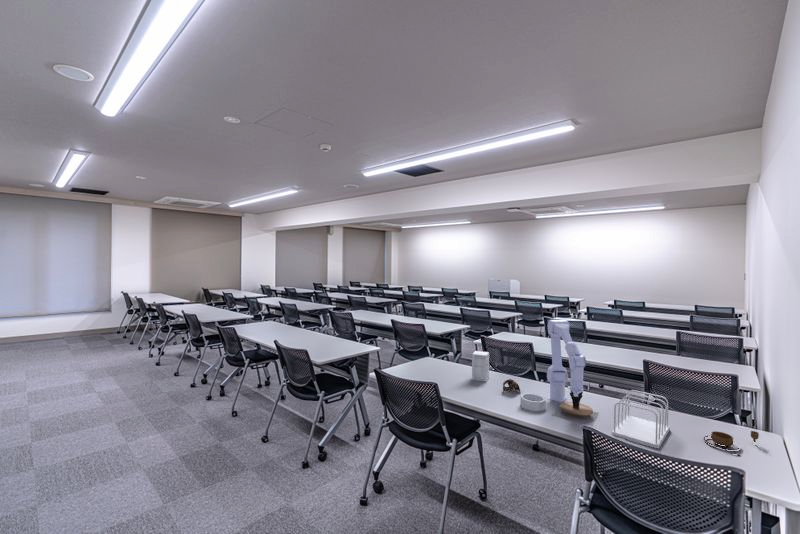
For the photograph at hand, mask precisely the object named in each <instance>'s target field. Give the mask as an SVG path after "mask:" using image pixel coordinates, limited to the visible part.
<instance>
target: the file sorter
mask: <svg viewBox="0 0 800 534" xmlns="http://www.w3.org/2000/svg"><path fill="white" fill-rule="evenodd" d="M635 392H636V393H635ZM644 394H645V395H644ZM632 395H636V396H638V397H635V396H632ZM648 395H649V396H648ZM652 396H653V397H652ZM640 397H644V398H647V399H644V398H640ZM660 398H662V399H660ZM631 399H635V400H639V401H643V402H646V403H649V404H646V403H643V402H638V401H634V400H631ZM648 399H651V400H656V401H659V402H662V403H663V405H664V407H663V405H662V404H660V403H658V402H654V401H650V400H648ZM663 399H664V400H665V401H666V402H665V401H664V400H663ZM630 403H634V404H637V405H634V404H630ZM650 404H653V405H657V406H660V408H661V410H662V412H661V410H660V409H659V408H658V407H656V406H653V405H650ZM617 405H618V406H617ZM638 405H641V406H638ZM642 406H645V407H642ZM617 407H618V409H617ZM624 407H625V408H624ZM630 407H632V408H635V409H636V408H637V409H641V410H645V411H647V412H652V413H653V414H654V415H655V421H651V420H649V419H644V418H640V417H636V416H633V415H630ZM647 407H648V408H647ZM649 408H651V409H649ZM664 408H665V409H664ZM653 409H656V410H657V411H658V413H659V416H658V414H657V413H656V412H655V411H654V410H653ZM617 410H618V411H617ZM616 412H617V413H618V414H616ZM620 413H621V414H620ZM620 415H621V416H620ZM616 417H617V419H616ZM620 417H621V420H620ZM658 418H659V419H658ZM616 420H617V422H616ZM616 423H617V425H616ZM670 430H671V426H670V425H669V401H668V398H666V397H665V396H663V395H658V394H656V393H655V394H653V393H651V392H650V393H649V392H645V391H642V390H640V391H639V390H635V389H631V390H629V392H628V393H626V395H625V396H623V397H622V399H619V401H618V402H616V403H614V407H613V430H612V431H611V435H613V436H616V437H619V438H623V439H624V440H626V439H627V440H626V441H631V442H634V443H636V444H640V445H643V446H645V447H649V446H650V448H653V447H654V448H653V449H656V448H659V449H660V448H661V445H662V444H663V442H664V440H665V438H666V437H667V436H668V434H669V432H670Z"/></svg>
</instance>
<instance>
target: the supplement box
mask: <svg viewBox="0 0 800 534" xmlns="http://www.w3.org/2000/svg"><path fill="white" fill-rule="evenodd" d="M471 355H472V356H471V380H472V381H477V382H479V381H480V382H487V381H488V380H489V378H490V352H489V351H479V350H475V351H474V352H473V353H472V354H471Z"/></svg>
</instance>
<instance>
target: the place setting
mask: <svg viewBox="0 0 800 534" xmlns="http://www.w3.org/2000/svg"><path fill="white" fill-rule="evenodd" d="M708 436H709V435H705V436H704V437H703V441H704V440H705V437H708ZM710 436H711V438H712V439H711V441H712V442H713V443H715V444H713V443H711V442H709V441H708V440H705V441H706V442H707V443H709V444H711V445H714V446H717V447H719V446H718V445H717V444H720V445H725V446H728V447H731V446H733V445H732V444H733V441H734V437H733V435H730V434H728V433H725V432H722V431H716V430H715V431H712V432H711V435H710ZM759 436H760V433H759V432H758V431H756V430H750V437H751V438H752V440H753V441H754V442H756V443H757V440H758V439H759ZM705 441H704V442H705ZM753 441H752V442H753ZM706 442H705V443H706ZM707 443H706V444H707ZM716 443H717V444H716Z"/></svg>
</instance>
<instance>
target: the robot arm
mask: <svg viewBox="0 0 800 534" xmlns="http://www.w3.org/2000/svg"><path fill="white" fill-rule="evenodd" d="M570 327H571V326H570V322H569V321H568V320H567V319H550V320H549V321H548V323H547V334H548V335H550V345H551V362H552V363H551V365H550V366H548V368H547V373H546V379H547V381H548V382H549V396H548V397H547V399H548V400H550V401H555V402H559V403H563V402H565V400H566V399H567V396H566V385H567V384H566V383H567V382H568V381H569V380H570V382H569V383H570V385H569V386H567V389H568V390H570V391H569V396H570V398H571V400H572V401H571V402H573V407H574V408H578V407H579V403H581V402H580V401H581V399H582V397H583V394H584V393H583V392H584V368H585V367H586V366H587V360H586V356H585V355H583V354H582V353H581V351H580V350H579V347H578V345H577V344H576V343H575V342H573V339H572V336H571V334H570ZM561 338H562V340H563V342H564V344H565V346H564V350H565V351H566V354H567V356H568V364H569V370H570V379H569V374H568V371H567V368H566V367H564V366H563V358H562V345H561V344H562V342H561Z"/></svg>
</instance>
